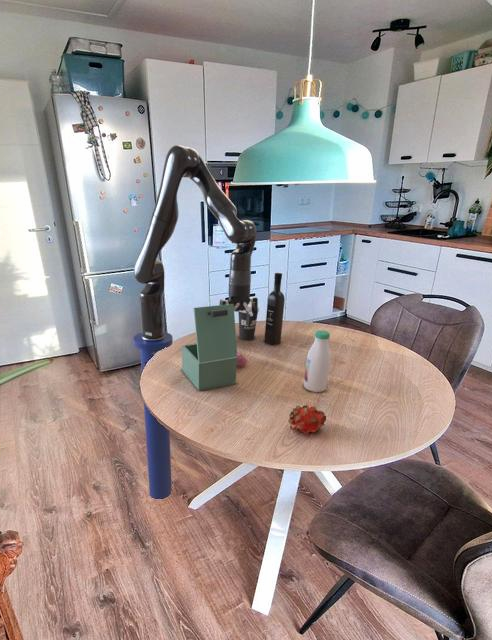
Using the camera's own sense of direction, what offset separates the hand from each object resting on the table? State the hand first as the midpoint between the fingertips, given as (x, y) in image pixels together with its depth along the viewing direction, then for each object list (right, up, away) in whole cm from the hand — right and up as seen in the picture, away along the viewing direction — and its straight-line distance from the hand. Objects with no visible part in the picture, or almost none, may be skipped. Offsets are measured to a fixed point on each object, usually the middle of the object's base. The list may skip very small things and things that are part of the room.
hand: (237, 326), depth 139 cm
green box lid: (-8, -3, -15) cm, 17 cm away
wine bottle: (+16, -4, +30) cm, 34 cm away
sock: (+1, -14, +8) cm, 16 cm away
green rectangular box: (-11, -18, -2) cm, 21 cm away
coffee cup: (+5, -2, +34) cm, 35 cm away
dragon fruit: (+18, -32, -30) cm, 48 cm away
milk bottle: (+26, -21, -7) cm, 34 cm away
